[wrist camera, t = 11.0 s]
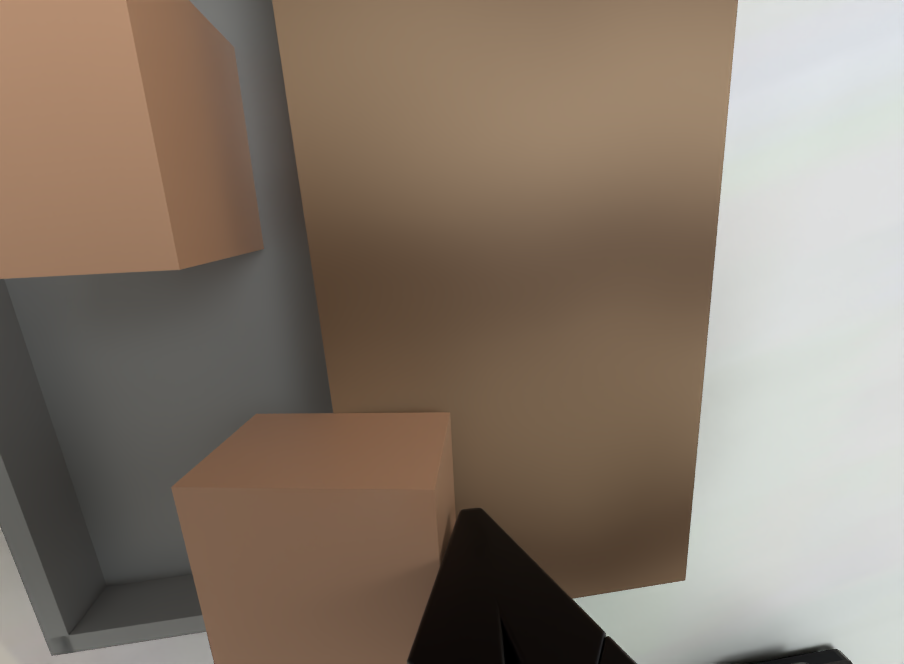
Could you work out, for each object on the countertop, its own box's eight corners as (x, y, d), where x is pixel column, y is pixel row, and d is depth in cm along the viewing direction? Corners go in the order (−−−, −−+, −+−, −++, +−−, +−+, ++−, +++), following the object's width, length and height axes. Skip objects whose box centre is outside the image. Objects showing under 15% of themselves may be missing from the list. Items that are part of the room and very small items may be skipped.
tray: (360, 555, 13) (355, 608, 11) (101, 592, 12) (51, 655, 10) (271, -71, 9) (240, -141, 7) (-124, -70, 8) (-266, -148, 6)
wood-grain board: (633, 515, 14) (685, 580, 11) (371, 553, 13) (366, 631, 10) (663, -71, 10) (752, -167, 7) (286, -71, 9) (245, -178, 6)
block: (179, 269, 6) (-23, 280, 6) (264, 249, 10) (144, 254, 10) (109, -83, 5) (-141, -91, 5) (234, 47, 9) (99, 47, 9)
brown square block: (458, 578, 10) (448, 699, 7) (284, 574, 10) (220, 687, 8) (449, 412, 9) (435, 489, 6) (256, 413, 9) (170, 487, 7)
